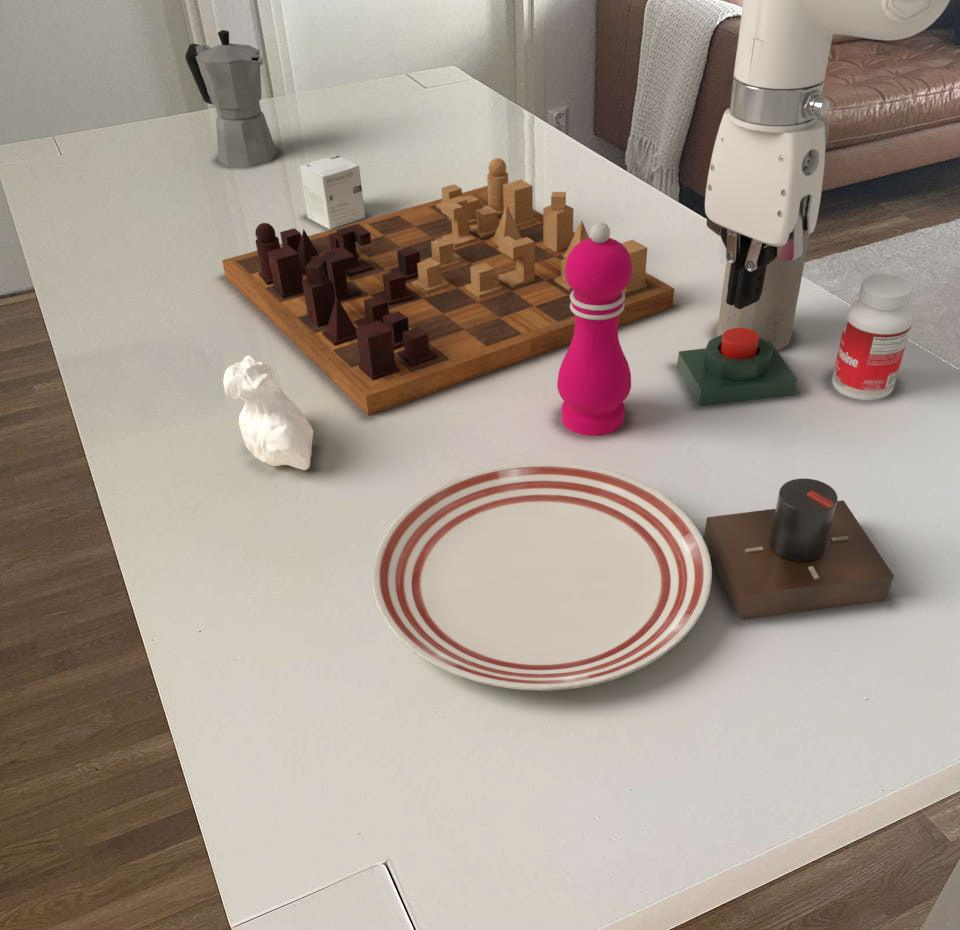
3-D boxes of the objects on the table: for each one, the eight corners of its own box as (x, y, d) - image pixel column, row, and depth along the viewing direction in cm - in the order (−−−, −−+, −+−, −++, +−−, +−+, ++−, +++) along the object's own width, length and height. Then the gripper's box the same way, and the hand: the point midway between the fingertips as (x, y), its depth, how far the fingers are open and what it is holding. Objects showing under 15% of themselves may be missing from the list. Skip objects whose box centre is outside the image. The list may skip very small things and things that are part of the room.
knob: (757, 542, 82) (768, 490, 78) (793, 521, 84) (804, 468, 80) (800, 569, 80) (813, 516, 76) (836, 546, 81) (850, 492, 78)
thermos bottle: (740, 314, 116) (780, 41, 97) (803, 334, 112) (857, 53, 93) (702, 342, 112) (736, 62, 92) (766, 363, 108) (815, 76, 89)
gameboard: (672, 309, 118) (679, 231, 111) (368, 418, 104) (357, 336, 97) (490, 203, 143) (488, 135, 136) (226, 280, 129) (209, 207, 122)
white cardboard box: (330, 232, 138) (322, 176, 133) (307, 219, 142) (298, 164, 137) (366, 219, 141) (360, 164, 136) (343, 207, 144) (335, 153, 139)
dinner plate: (706, 728, 72) (712, 697, 70) (339, 694, 76) (332, 663, 74) (708, 500, 92) (712, 469, 89) (414, 482, 96) (411, 452, 93)
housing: (766, 359, 109) (772, 325, 106) (793, 397, 103) (800, 362, 100) (676, 369, 108) (680, 335, 105) (698, 409, 102) (703, 373, 100)
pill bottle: (824, 373, 106) (846, 271, 99) (883, 371, 106) (910, 269, 98) (839, 404, 102) (863, 300, 94) (900, 402, 102) (930, 298, 94)
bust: (270, 441, 106) (183, 379, 98) (319, 389, 104) (234, 322, 96) (295, 504, 97) (203, 442, 90) (349, 450, 96) (259, 382, 88)
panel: (836, 527, 88) (843, 498, 86) (885, 603, 81) (894, 573, 79) (702, 544, 87) (706, 515, 85) (740, 623, 80) (745, 593, 78)
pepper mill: (615, 397, 105) (627, 202, 91) (638, 434, 100) (653, 233, 86) (548, 408, 104) (549, 212, 90) (567, 446, 99) (571, 245, 85)
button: (749, 341, 104) (752, 325, 103) (761, 358, 102) (764, 342, 101) (716, 345, 104) (718, 329, 103) (727, 362, 102) (729, 346, 100)
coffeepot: (299, 155, 160) (278, 26, 147) (259, 175, 155) (234, 43, 142) (227, 141, 166) (201, 16, 154) (187, 160, 161) (157, 32, 148)
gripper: (875, 110, 84) (828, 317, 97) (738, 72, 92) (712, 267, 105) (817, 132, 81) (777, 342, 93) (680, 90, 89) (661, 288, 102)
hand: (742, 302), depth 99 cm, fingers closed
